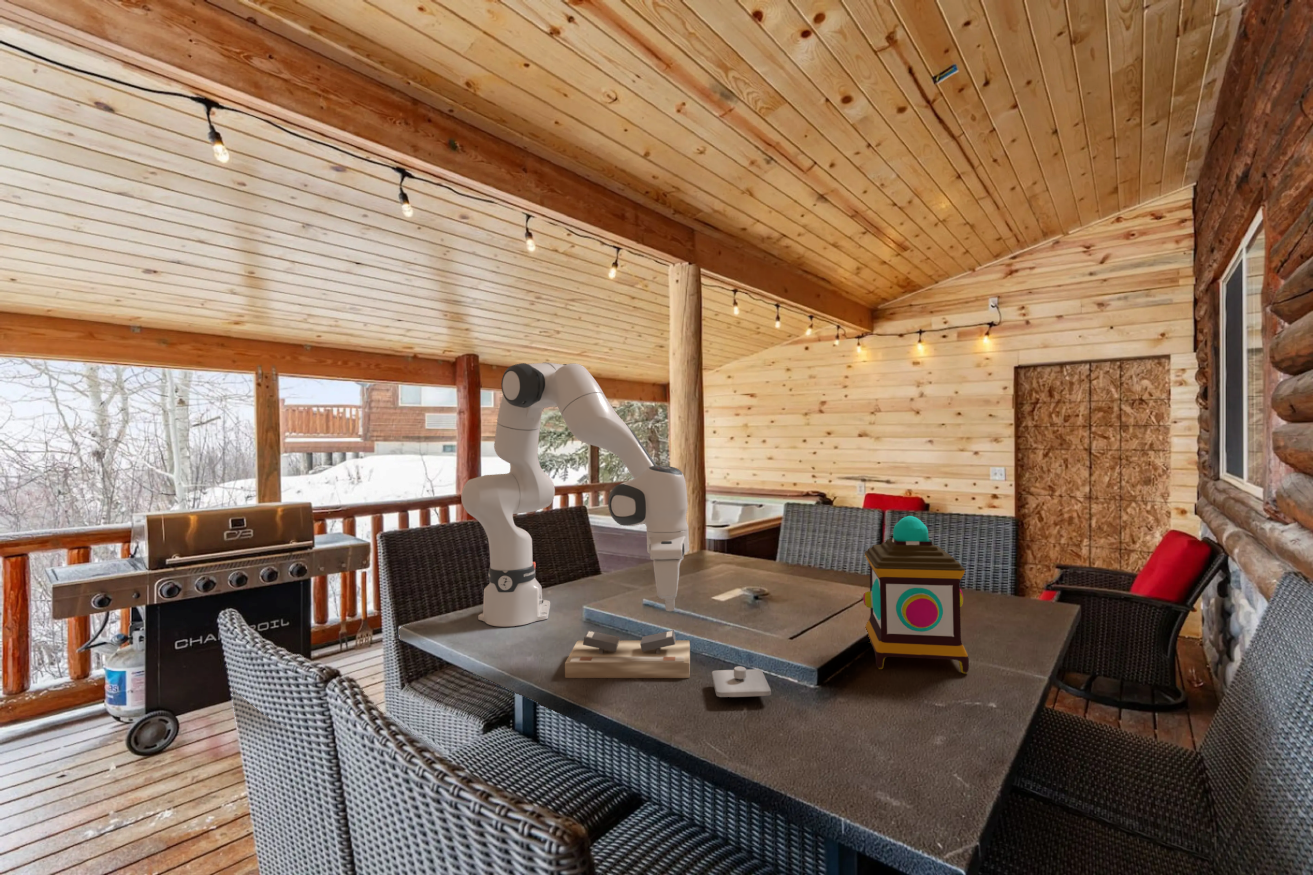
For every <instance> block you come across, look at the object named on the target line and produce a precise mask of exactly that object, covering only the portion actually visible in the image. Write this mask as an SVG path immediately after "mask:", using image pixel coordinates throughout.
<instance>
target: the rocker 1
mask: <svg viewBox="0 0 1313 875" xmlns="http://www.w3.org/2000/svg"><path fill="white" fill-rule="evenodd" d="M583 641H584V642H583V645H586V646H591V647H596V648H601V649H605V650H610V651H615V652H616V650H617V647H618V644H619V641H620V636H618V635H612V634H608V633H603V632H598V631H594V630H587V632H586V633H585V635H584V637H583Z"/></svg>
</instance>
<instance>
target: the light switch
mask: <svg viewBox="0 0 1313 875" xmlns="http://www.w3.org/2000/svg"><path fill="white" fill-rule="evenodd" d="M711 679H712V683H713V688H714V691H715V695H716V697H719V698H728V697H729V698H752V697H769V696H771V695H772V690H771V687H770V684H769V683H768V681H767V678H766V676H765V674H764V673H763V670H762V669H759V668H758V669H757V668H756V669H754V668H753V669H747V668H746V667H744V666H741V665H740V666H739V665H738V666H735V667H734V668H733V669H721V670H718V669H717V670H713V671H711Z"/></svg>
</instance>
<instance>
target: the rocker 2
mask: <svg viewBox="0 0 1313 875" xmlns="http://www.w3.org/2000/svg"><path fill="white" fill-rule="evenodd" d="M675 640H677V639H676V632H675V630H668V631H663V632H659V633H658V632H657V633H654V634H650V635H649V634H648V635H645V636H641V643H640V645H641V649H642V652H643V651H647V650H652V649H657V648H661V647H666V646H671V645H675Z"/></svg>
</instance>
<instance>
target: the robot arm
mask: <svg viewBox="0 0 1313 875" xmlns="http://www.w3.org/2000/svg"><path fill="white" fill-rule="evenodd" d="M500 386H501V392H502V396H501V401H500V403H499V408H498V413H497V419H496V420H497V421H496V426H495V427H496V428H495V437H494V442H493V443H494V444H493V448H494V452H495V453H496V455H497V456H498V457H499V458H500V459H501V460H502V461H504V462H506V463H508V464H509V466H510V467H509V468H510V470H509V472H508V473H498V474H497V473H495V474H485V475H481V476H477V477H474V478H470V479H468V480H467V482H465V484H464V486H463V487H462V490H461V494H460V495H461V496H460V497H461V498H460V499H461V503H462V506H463V508H464V510H465V511H466V513H467V514H469V515H470V516H471V517H473V518H474V519H476V521H478V522H479V523H480V525H481V527H482V528H483V530H484V532H485V534H486V537H487V540H488V548H489V563H490V565H489V568H488V573H487V574H488V581H489V584H488V585H487V586H485V587H484V590H483V609H482V613H480V614H478V616H477V617H478V618H477V620H479V621H483V622H484V623H486V624H487V625H490V626H494V627H515V626H516V627H518V626H524V625H527V624H532V623H534V622H539V621H544V620H547V619H549V614H550V608H551V601H550V600H547V599H543V591H542V590H543V588H542V585H541V583H539V581H538V580H537V579H536V575H537V574H536V561H533V538H532V536H531V535H530V533H529V532H528V531H526V530H525V529H523V528H522V527H519V526H517V525H516V524H515V521H514V516H513V515H516V514H517V515H518V514H525V513H533V512H537V511H540V510H542V509H545V508H548V507H550V506H551V504H552V503H553V500H554V499H555V494H556V489H555V484H554V482H553V479H552V478H551V477H550V476H549V475H548V474H547V473H546V472H545V471H544V470H543V469H542V467H541V463H540V462H539V455H538V454H539V441H540V440H539V438H540V429H541V423H542V412H544V409H547V408H552V407H553V408H554V407H555V408H556V407H557V408H558V410H559V412H560V415H561V416H562V419H563V421H564V423H565V425H566V427H567V429H568V430H569V431H570V433H571V434H572V435H573V436H574V437H575V439H576V440H578V441H580V442H582V443H583V444H584V443H585V444H586V445H591V446H593V447H598V448H601V449H603V450H605V451H608V452H610V453H612V454H613V455H616V457H618V458H619V459H620V461H621V462H622V463H623V465H624V466H625V467H626V468H627V470H628V472H629V474H630V475H631V476H632V478H633V479H630V480H627V481H624V482H621V483H619V484H616V485H615V486H613V488H612V490H611V491H610V493H609V495H608V501H607V503H608V504H607V507H608V510H609V514H610V516H611V518H612V519H613V521H615V522H616V524H618V525H621V526H623V527H624V526H625V527H634V526H639V525H645V526H646V548H647V549H646V551H647V553H648V554H649V559H650V560H652V561H653V564H652V565H653V571H654V580H655V586H656V593H657V594H656V595H657V597H658V598H659V599H662V600H664V602H665V603H664V604H665V605H664V606H665V611H667V612H674V611H675V606H676V605H675V604H676V603H675V599H676V598H677V595H678V587H679V579H680V566H681V563H682V561H683V560H684V559H685V558H684V555H685V554H687V553H688V552H690V535H689V534H690V533H689V525H688V521H687V513H688V509H689V503H688V489H687V488H688V487H687V482H686V478H685V475H684V473H683V472H682V471H681V469H679V468H677V467H673V466H669V465H657V464H656V462H655V461H654V460H653V457H651V455H650V454H649V452H648V450H647V449H646V447H645V446H644V445H643V443H642V442H641V440H640V439H639V437H638V436H637V435H636V433H635V432H634V430H632V429H631V427H630V426H629V425H628V424H627V423H625V421H624V419H622V418H621V417H620V416H619V414H617V412H616V411H615V409H614V407H613V406H612V405H611V403H610V402H609V400H608V399H607V396H606V395H605V393H604V392H603V390H602V387H601V386H600V385H599V383H598V382H597V381H596V379H595V378H594V377H593V375H592V373H590V371H589V370H588V369H587V368H586V367H585V366H583V365H582V364H580V363H563V364H562V363H556V362H546V361H545V362H537V363H535V362H534V363H533V362H532V363H525V362H522V363H516V364H513V365H510V366H509V367H507V368H506V369H505V371H504V373H503V375H502V378H501V385H500Z"/></svg>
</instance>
